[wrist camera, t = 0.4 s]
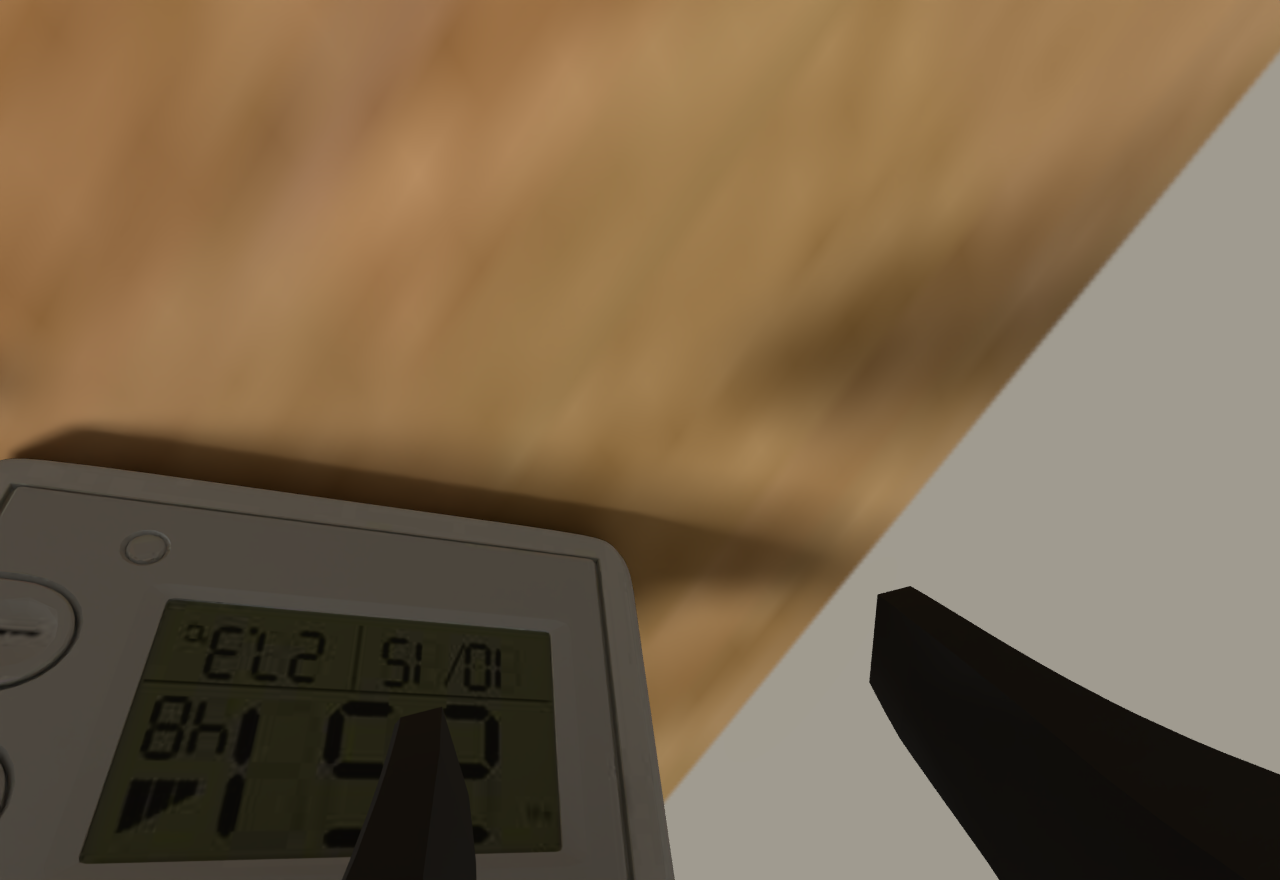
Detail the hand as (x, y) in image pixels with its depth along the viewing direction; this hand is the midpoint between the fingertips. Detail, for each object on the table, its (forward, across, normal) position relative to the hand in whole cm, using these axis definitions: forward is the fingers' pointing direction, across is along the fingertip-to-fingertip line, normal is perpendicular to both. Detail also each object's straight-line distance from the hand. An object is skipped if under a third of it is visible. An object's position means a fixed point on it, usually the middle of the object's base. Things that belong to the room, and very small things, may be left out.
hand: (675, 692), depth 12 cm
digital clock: (+10, +7, +3) cm, 13 cm away
